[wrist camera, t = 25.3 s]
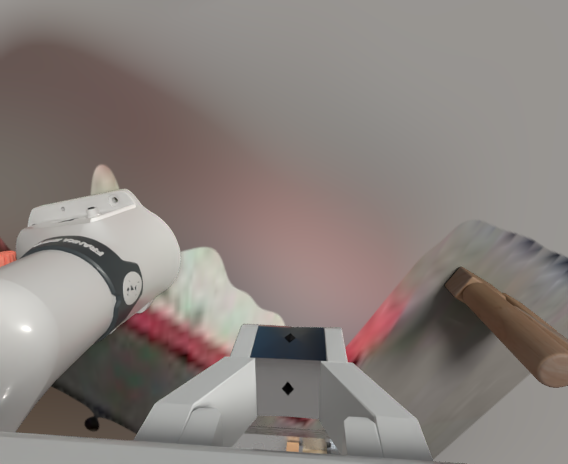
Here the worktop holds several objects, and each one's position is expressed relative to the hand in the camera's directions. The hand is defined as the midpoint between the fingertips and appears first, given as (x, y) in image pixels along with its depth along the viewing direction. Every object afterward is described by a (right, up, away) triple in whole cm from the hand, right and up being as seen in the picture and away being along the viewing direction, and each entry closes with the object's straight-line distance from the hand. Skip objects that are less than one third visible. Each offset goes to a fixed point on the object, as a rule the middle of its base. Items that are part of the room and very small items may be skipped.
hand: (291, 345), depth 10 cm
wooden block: (+28, -5, +35) cm, 45 cm away
